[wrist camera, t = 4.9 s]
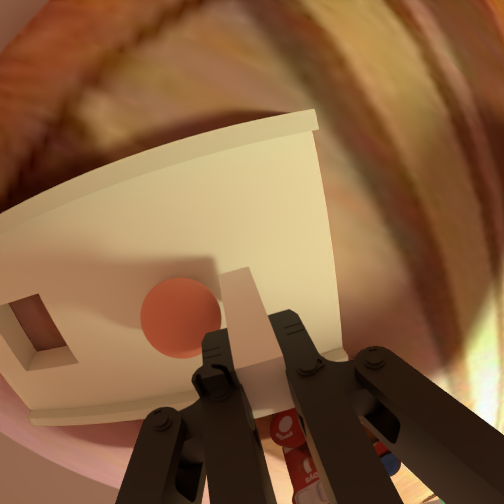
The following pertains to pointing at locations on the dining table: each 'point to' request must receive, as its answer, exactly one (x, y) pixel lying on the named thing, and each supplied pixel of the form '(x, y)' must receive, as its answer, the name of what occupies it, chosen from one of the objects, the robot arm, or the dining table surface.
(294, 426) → the toy fire truck
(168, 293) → the ball
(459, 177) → the dining table surface
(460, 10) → the dining table surface
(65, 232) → the board
